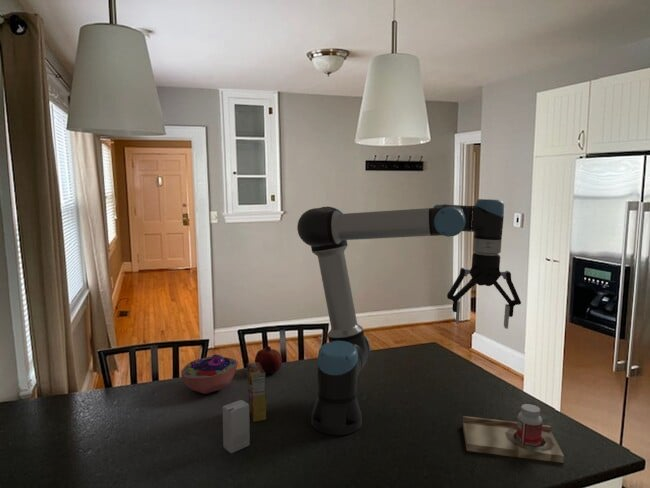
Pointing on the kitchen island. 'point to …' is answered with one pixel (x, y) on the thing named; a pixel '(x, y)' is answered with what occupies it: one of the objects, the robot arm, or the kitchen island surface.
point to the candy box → (256, 391)
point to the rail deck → (507, 440)
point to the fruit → (269, 360)
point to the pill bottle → (529, 426)
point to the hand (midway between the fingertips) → (481, 325)
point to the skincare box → (236, 426)
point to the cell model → (209, 373)
